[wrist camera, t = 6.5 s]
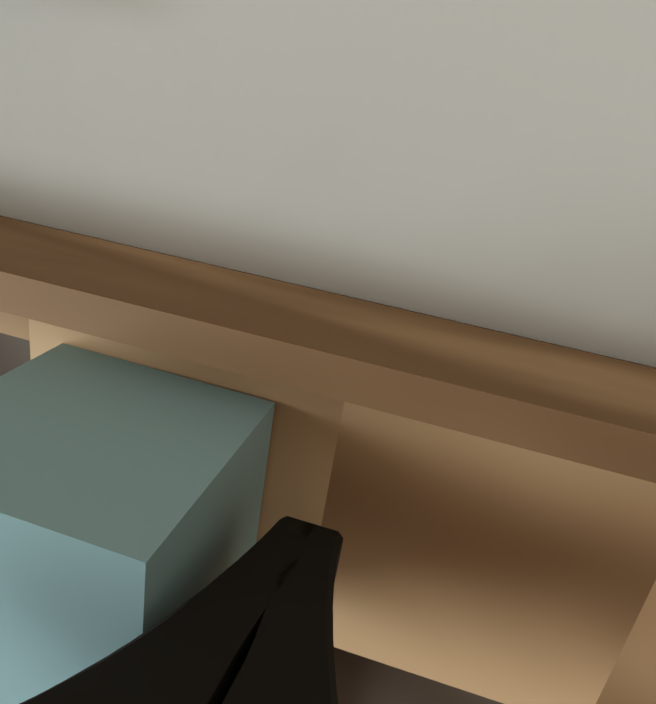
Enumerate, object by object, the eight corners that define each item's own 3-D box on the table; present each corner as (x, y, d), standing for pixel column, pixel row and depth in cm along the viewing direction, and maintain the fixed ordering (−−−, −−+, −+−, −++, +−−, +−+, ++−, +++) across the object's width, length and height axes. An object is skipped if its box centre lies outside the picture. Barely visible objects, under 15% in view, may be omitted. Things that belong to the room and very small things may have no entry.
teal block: (250, 585, 13) (135, 793, 9) (66, 522, 14) (-112, 688, 10) (275, 402, 12) (145, 563, 8) (62, 342, 12) (-156, 458, 8)
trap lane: (654, 890, 17) (699, 1127, 13) (-131, 600, 22) (-274, 712, 18) (951, 436, 11) (1196, 622, 7) (-217, 165, 16) (-461, 188, 12)
